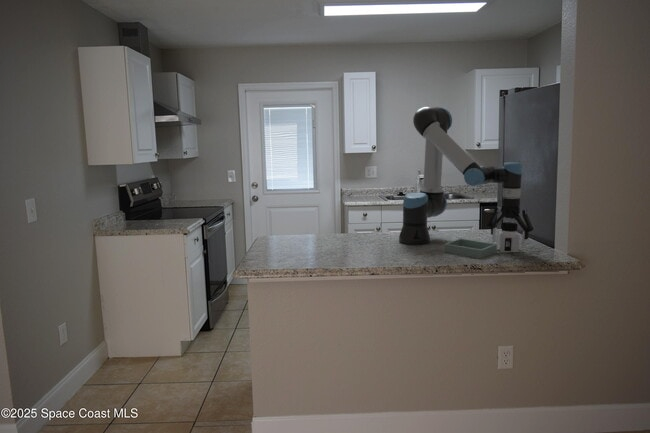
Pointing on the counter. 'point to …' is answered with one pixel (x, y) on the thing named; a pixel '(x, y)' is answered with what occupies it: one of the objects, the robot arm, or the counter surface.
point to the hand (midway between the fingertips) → (508, 244)
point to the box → (470, 248)
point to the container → (508, 238)
